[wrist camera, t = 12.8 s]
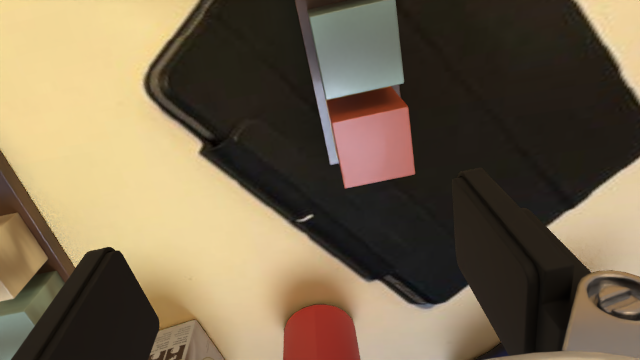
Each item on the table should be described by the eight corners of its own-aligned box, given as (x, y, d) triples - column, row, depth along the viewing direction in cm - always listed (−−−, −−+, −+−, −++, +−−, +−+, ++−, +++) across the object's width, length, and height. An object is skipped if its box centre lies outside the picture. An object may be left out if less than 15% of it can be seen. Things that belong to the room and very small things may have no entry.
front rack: (272, -107, 22) (265, -128, 17) (371, -131, 22) (393, -159, 17) (329, 159, 30) (335, 195, 25) (403, 144, 30) (424, 177, 25)
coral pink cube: (326, 100, 27) (331, 122, 23) (391, 86, 26) (408, 106, 23) (338, 159, 29) (344, 188, 25) (398, 146, 28) (415, 174, 25)
